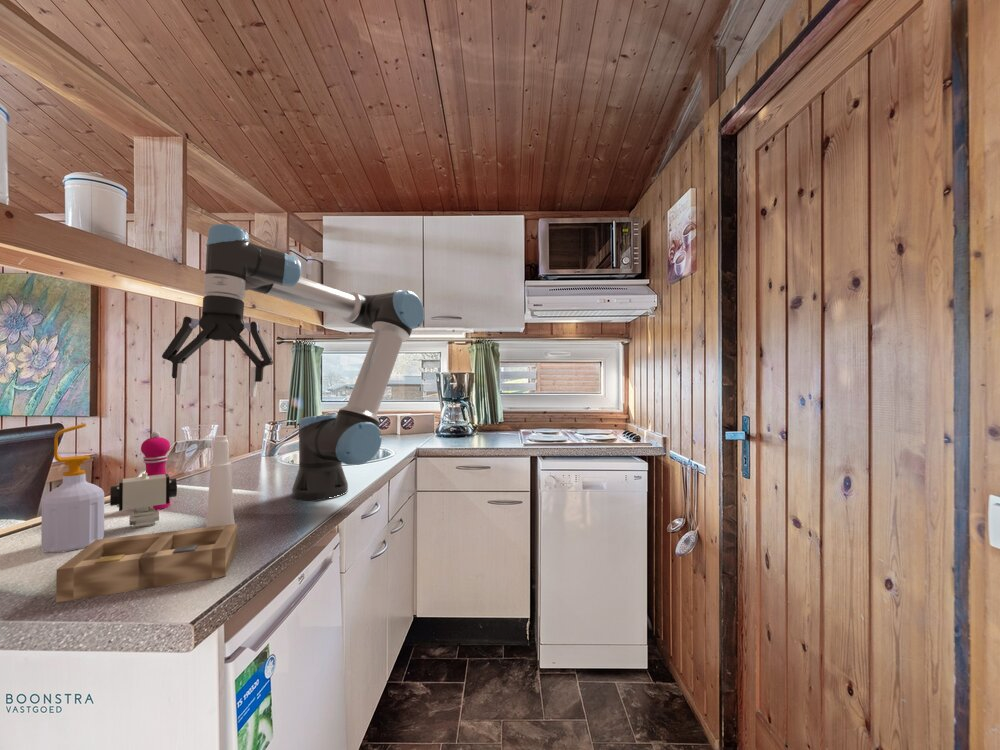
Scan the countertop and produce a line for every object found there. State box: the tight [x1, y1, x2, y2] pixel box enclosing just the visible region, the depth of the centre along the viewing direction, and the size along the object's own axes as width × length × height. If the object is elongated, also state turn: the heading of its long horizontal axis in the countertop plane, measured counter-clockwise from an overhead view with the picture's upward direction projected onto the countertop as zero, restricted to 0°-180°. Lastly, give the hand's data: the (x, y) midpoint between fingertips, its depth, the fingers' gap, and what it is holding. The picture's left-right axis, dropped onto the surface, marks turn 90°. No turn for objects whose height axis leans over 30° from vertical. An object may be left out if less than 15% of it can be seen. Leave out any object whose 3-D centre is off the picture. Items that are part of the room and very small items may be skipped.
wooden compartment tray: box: [55, 523, 239, 603], centre depth 76 cm, size 22×13×5 cm, turn 114°
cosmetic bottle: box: [205, 434, 236, 527], centre depth 91 cm, size 6×6×22 cm
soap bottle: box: [40, 423, 105, 553], centre depth 88 cm, size 9×9×25 cm
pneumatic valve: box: [109, 472, 178, 529], centre depth 100 cm, size 6×12×12 cm, turn 131°
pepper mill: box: [139, 430, 171, 511], centre depth 113 cm, size 7×7×20 cm
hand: (217, 396), depth 92 cm, fingers open, 13 cm apart
